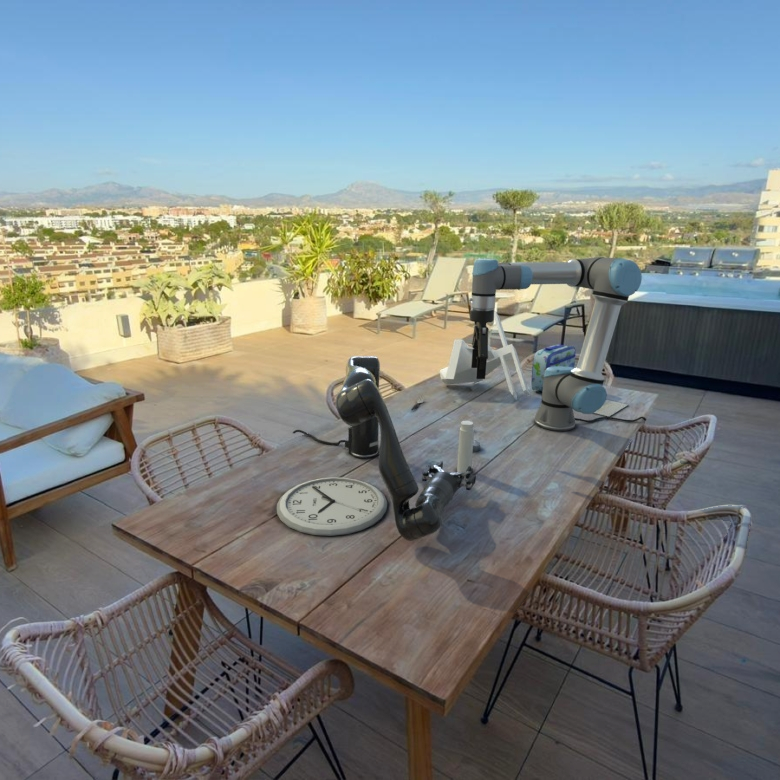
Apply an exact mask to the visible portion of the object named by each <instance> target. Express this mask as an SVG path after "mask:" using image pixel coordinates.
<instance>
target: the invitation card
mask: <svg viewBox="0 0 780 780" xmlns="http://www.w3.org/2000/svg"><path fill="white" fill-rule="evenodd" d="M628 406H629V404H627V403H623V402H618V401H614V400H609V399H606V401H605V403H604V405H603V406H602V407H601V408H600V409H599V410H597V411H596V412H594V413H593V414H596V415H600V416H603V417H612V416H613V415H614V414H616V413H617V412H619V411H621V410H623V409H624V408H626V407H628Z"/></svg>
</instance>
